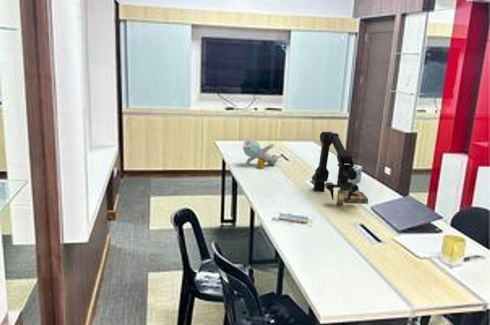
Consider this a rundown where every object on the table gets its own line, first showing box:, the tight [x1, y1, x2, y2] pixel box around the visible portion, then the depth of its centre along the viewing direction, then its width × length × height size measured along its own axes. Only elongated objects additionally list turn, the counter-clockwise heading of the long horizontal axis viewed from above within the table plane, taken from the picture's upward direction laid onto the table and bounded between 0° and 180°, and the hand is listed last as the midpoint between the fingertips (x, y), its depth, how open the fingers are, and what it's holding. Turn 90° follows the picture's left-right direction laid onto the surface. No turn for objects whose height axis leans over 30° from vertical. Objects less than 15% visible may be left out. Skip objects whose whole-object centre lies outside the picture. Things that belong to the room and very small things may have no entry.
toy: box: [242, 138, 279, 170], centre depth 342 cm, size 32×18×30 cm
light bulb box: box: [352, 164, 363, 184], centre depth 319 cm, size 11×7×11 cm, turn 149°
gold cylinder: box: [335, 188, 345, 207], centre depth 268 cm, size 4×4×9 cm
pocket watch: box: [348, 177, 360, 192], centre depth 295 cm, size 10×11×15 cm
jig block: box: [344, 191, 369, 204], centre depth 279 cm, size 14×14×3 cm
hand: (340, 200), depth 268 cm, fingers open, 9 cm apart
